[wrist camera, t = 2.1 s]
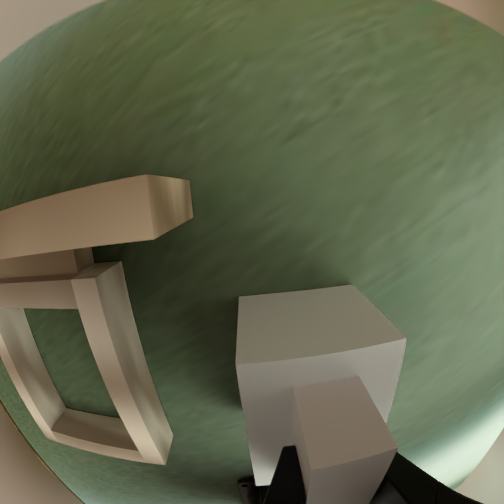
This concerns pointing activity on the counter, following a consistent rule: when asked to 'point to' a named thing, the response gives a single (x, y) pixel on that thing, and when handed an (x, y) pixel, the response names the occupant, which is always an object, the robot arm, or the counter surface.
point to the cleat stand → (87, 306)
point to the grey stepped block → (319, 388)
